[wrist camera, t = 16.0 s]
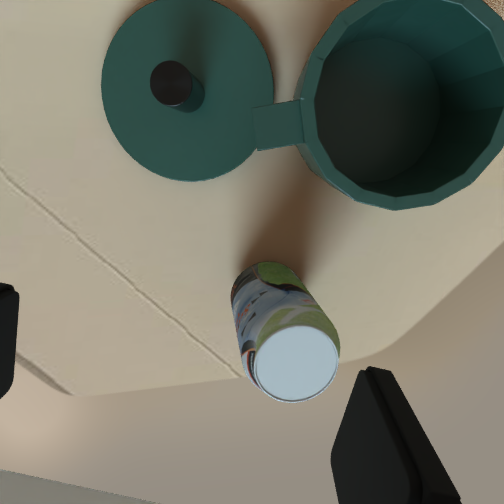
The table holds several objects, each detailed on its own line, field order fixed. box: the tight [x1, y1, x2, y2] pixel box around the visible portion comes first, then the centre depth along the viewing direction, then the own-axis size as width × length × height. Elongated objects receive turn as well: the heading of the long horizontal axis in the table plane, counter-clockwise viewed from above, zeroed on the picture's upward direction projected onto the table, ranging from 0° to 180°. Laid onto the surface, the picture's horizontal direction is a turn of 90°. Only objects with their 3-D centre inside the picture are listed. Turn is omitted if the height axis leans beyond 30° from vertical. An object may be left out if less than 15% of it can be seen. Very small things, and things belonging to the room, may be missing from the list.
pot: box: [251, 0, 504, 211], centre depth 25 cm, size 12×17×8 cm
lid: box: [101, 0, 274, 182], centre depth 26 cm, size 13×13×6 cm
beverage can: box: [231, 262, 340, 403], centre depth 28 cm, size 6×7×12 cm
